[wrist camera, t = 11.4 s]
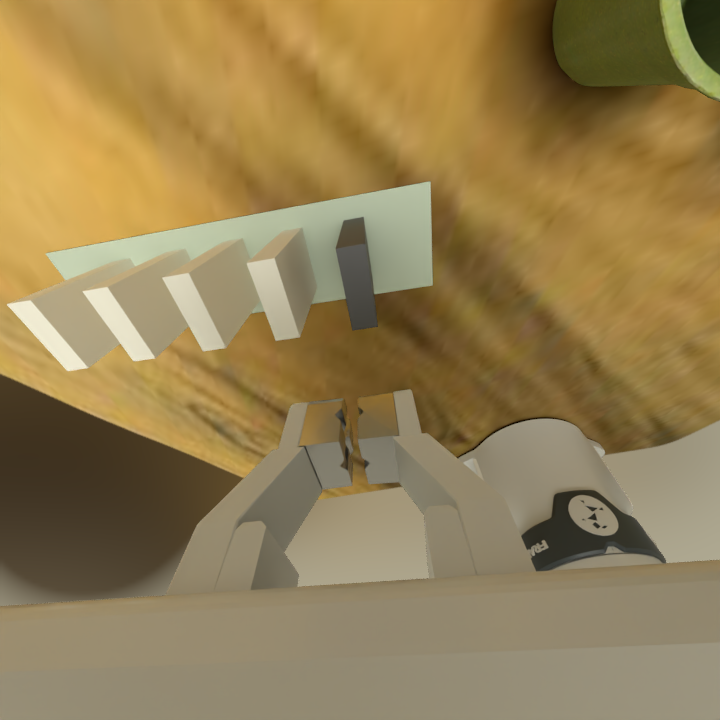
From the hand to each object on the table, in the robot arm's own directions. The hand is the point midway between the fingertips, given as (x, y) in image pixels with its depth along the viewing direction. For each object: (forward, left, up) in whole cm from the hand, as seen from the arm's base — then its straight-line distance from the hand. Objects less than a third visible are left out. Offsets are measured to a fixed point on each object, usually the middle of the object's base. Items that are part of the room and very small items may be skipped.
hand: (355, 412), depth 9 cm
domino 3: (0, +10, -19) cm, 21 cm away
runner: (0, +10, -19) cm, 22 cm away
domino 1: (0, +20, -19) cm, 28 cm away
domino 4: (0, +5, -19) cm, 20 cm away
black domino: (0, 0, -19) cm, 19 cm away
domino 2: (0, +15, -19) cm, 24 cm away
